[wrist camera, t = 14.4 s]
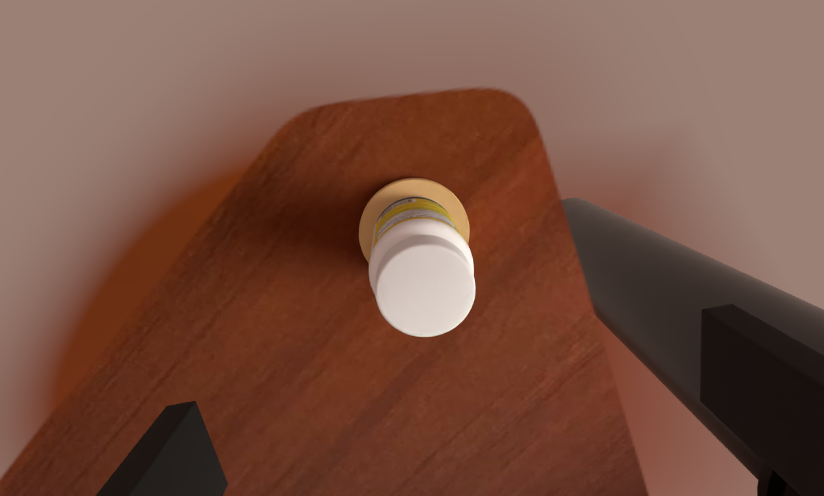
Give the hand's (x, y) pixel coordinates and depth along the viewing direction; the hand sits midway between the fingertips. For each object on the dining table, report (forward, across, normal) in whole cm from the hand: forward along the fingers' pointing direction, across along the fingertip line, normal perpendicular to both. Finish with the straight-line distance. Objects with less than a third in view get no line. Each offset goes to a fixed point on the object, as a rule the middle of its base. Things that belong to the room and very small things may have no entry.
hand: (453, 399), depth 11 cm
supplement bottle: (+15, 0, -1) cm, 15 cm away
